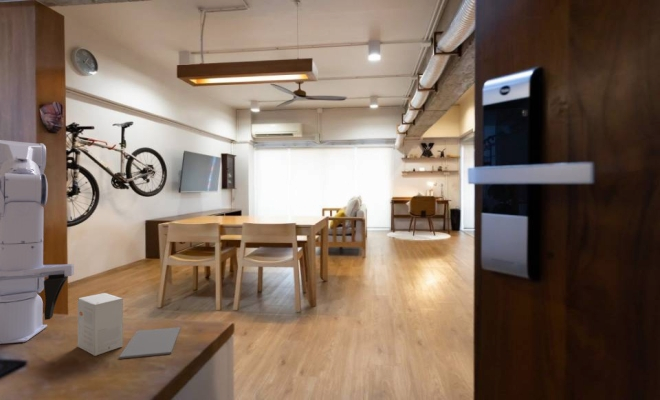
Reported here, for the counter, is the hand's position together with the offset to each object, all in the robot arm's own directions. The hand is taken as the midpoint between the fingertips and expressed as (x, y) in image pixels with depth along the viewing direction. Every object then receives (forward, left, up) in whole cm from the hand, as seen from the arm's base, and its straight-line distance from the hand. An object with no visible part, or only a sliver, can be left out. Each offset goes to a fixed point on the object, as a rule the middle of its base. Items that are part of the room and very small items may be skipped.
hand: (21, 321), depth 60 cm
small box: (-12, +8, -11) cm, 18 cm away
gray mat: (-12, +19, -10) cm, 24 cm away
